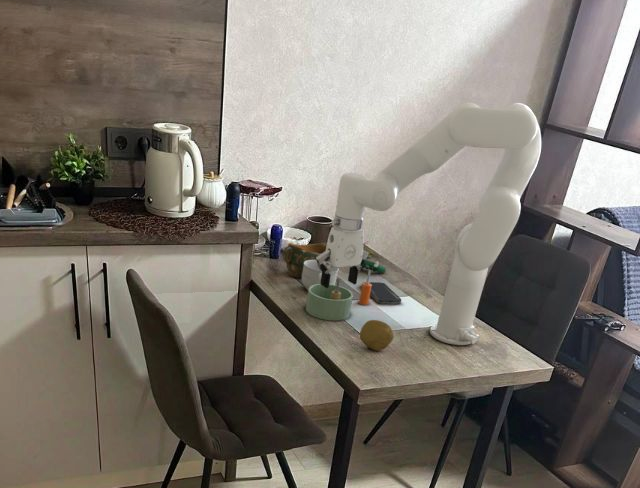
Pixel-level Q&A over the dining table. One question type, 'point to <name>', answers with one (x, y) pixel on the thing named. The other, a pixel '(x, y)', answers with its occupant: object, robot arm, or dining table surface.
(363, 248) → the lily flower
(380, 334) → the potato
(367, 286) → the screwdriver
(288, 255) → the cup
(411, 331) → the dining table surface
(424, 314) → the dining table surface
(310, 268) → the teacup
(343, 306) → the crock
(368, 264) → the green toy figure
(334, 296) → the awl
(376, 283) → the phone
